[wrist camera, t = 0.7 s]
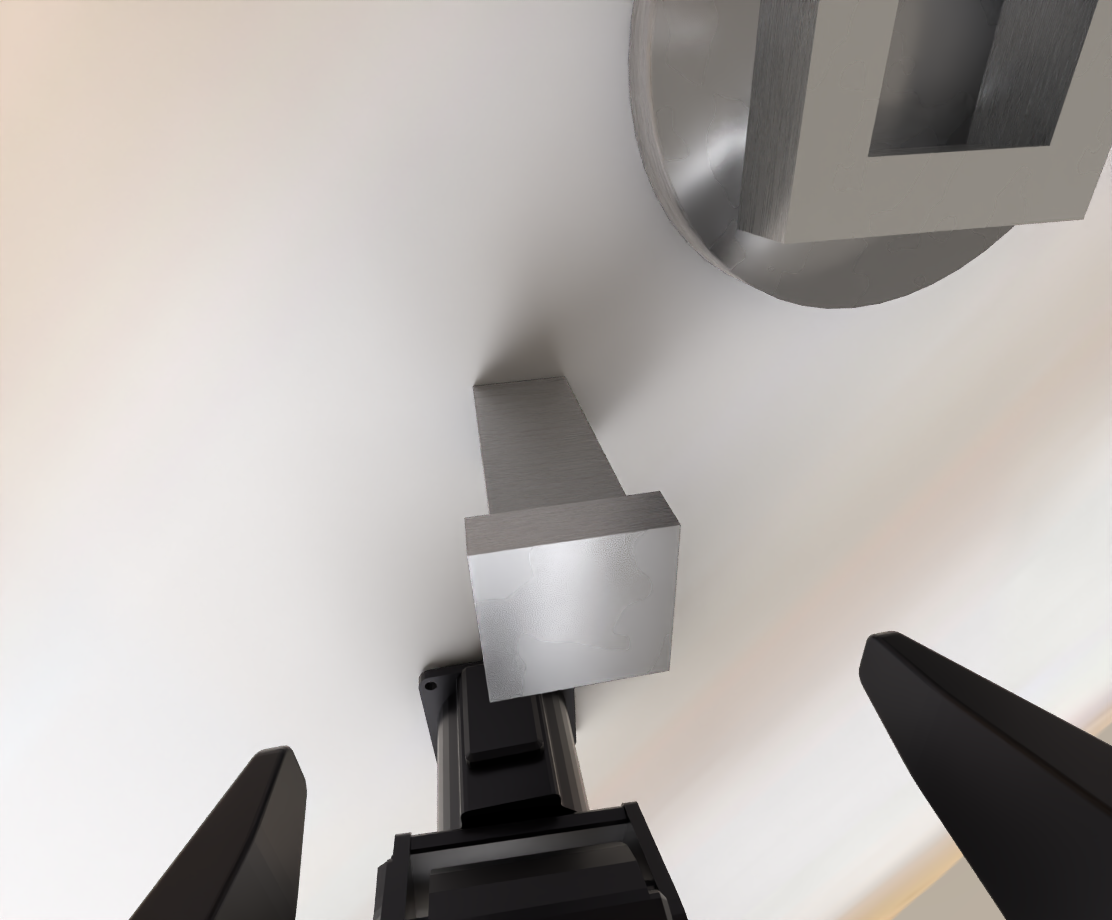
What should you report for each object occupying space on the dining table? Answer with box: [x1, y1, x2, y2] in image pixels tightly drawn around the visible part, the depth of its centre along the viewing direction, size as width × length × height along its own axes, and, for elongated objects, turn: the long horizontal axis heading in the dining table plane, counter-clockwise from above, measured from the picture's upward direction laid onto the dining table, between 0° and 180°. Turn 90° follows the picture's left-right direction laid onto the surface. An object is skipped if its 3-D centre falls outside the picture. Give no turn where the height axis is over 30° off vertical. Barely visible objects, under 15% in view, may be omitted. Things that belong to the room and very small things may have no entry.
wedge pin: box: [465, 376, 681, 702], centre depth 16 cm, size 4×4×9 cm
